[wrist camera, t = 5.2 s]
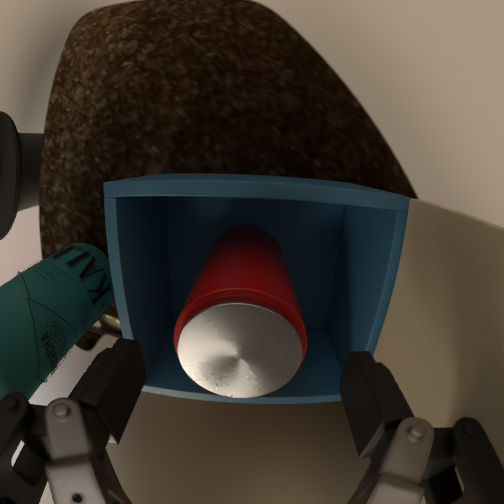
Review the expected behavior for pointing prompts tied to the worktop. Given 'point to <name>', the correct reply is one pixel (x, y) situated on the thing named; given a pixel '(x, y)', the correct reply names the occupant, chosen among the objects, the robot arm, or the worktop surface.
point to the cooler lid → (449, 321)
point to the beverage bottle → (50, 313)
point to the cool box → (294, 251)
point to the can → (241, 318)
